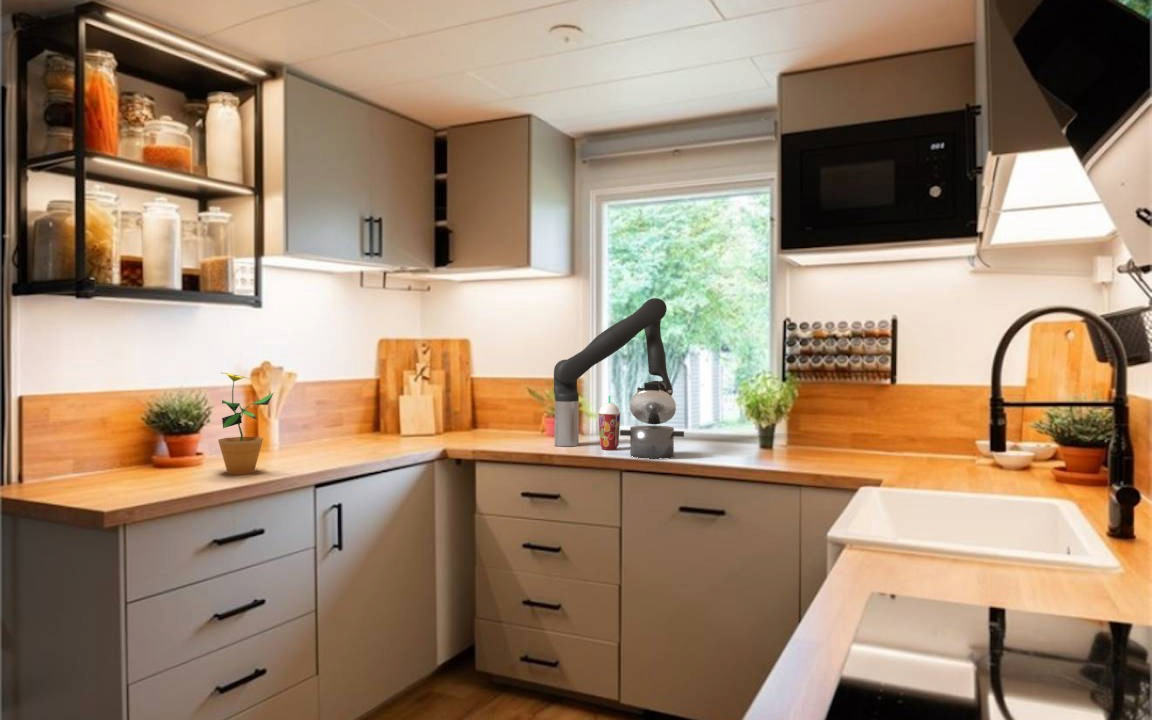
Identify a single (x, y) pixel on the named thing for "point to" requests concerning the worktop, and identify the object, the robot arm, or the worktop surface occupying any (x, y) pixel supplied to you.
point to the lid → (652, 405)
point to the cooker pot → (652, 441)
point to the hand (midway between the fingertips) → (652, 391)
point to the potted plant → (240, 439)
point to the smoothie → (609, 426)
